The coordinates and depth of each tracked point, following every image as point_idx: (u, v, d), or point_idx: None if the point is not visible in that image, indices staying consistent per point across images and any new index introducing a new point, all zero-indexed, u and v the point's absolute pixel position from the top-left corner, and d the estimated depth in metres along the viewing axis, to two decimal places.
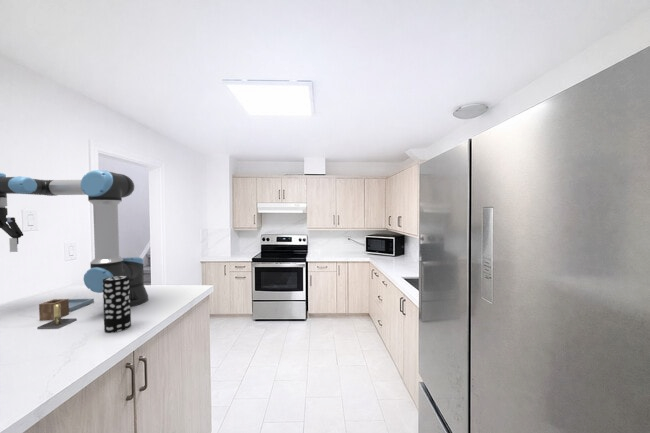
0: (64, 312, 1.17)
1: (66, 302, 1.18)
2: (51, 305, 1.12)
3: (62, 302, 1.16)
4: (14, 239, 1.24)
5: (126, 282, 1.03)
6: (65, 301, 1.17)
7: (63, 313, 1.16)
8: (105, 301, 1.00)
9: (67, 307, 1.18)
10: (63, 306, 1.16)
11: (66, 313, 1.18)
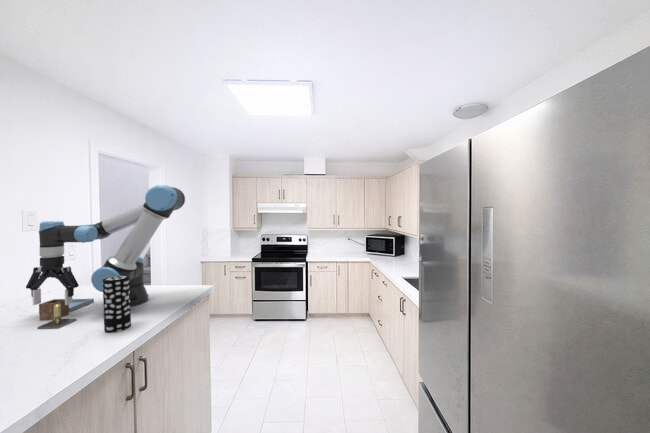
0: (64, 312, 1.17)
1: None
2: (51, 305, 1.12)
3: (62, 302, 1.16)
4: None
5: (126, 282, 1.03)
6: None
7: (63, 313, 1.16)
8: (105, 301, 1.00)
9: (67, 307, 1.18)
10: (63, 306, 1.16)
11: (66, 313, 1.18)
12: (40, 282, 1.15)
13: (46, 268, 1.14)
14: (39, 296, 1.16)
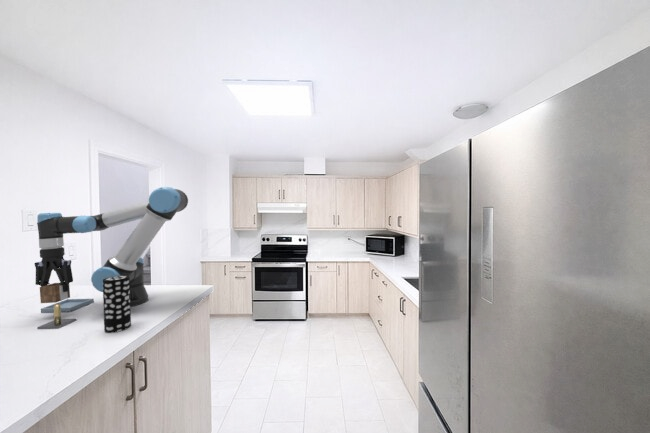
0: None
1: None
2: (52, 288, 1.12)
3: None
4: None
5: (126, 282, 1.03)
6: None
7: None
8: (105, 301, 1.00)
9: (68, 290, 1.18)
10: None
11: None
12: (47, 276, 1.15)
13: (46, 258, 1.14)
14: None
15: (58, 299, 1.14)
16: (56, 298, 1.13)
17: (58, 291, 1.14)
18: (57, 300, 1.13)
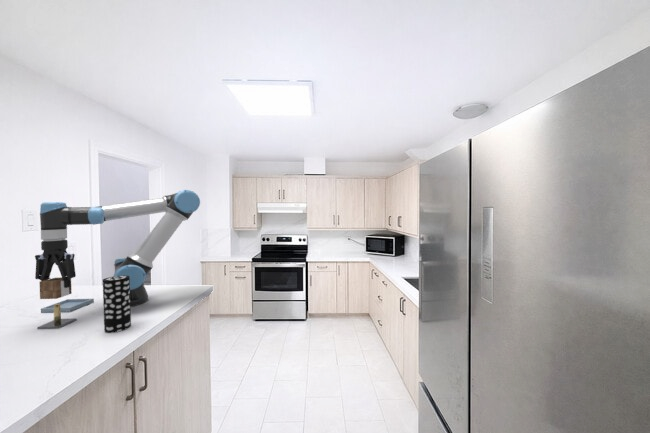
0: None
1: None
2: (53, 283, 1.04)
3: None
4: None
5: (126, 282, 1.03)
6: None
7: None
8: (105, 301, 1.00)
9: None
10: None
11: None
12: (48, 270, 1.07)
13: (47, 251, 1.06)
14: None
15: (59, 295, 1.06)
16: (57, 294, 1.05)
17: (59, 286, 1.06)
18: (58, 296, 1.05)
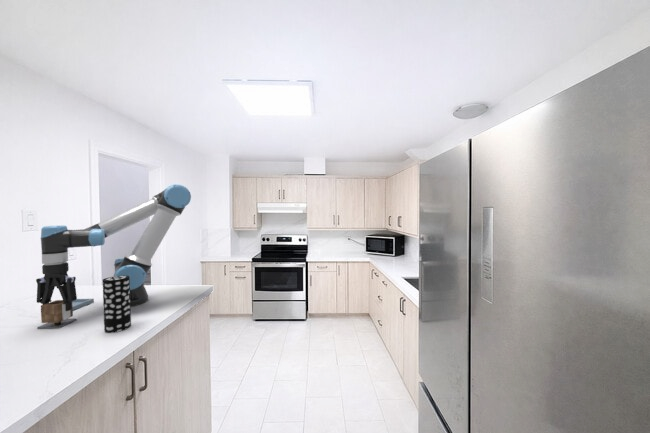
0: None
1: None
2: (54, 306, 1.05)
3: None
4: None
5: (126, 282, 1.03)
6: None
7: None
8: (105, 301, 1.00)
9: None
10: None
11: None
12: (49, 293, 1.07)
13: (48, 275, 1.06)
14: None
15: (60, 319, 1.06)
16: (58, 318, 1.05)
17: (60, 310, 1.06)
18: (59, 320, 1.05)
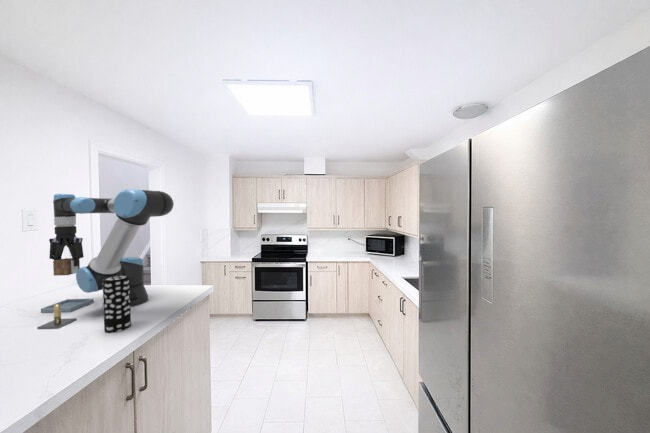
0: None
1: None
2: (64, 262, 1.24)
3: None
4: None
5: (126, 282, 1.03)
6: None
7: None
8: (105, 301, 1.00)
9: None
10: None
11: None
12: (60, 251, 1.26)
13: (60, 235, 1.25)
14: None
15: (69, 272, 1.25)
16: (68, 271, 1.24)
17: (70, 265, 1.25)
18: (68, 273, 1.24)
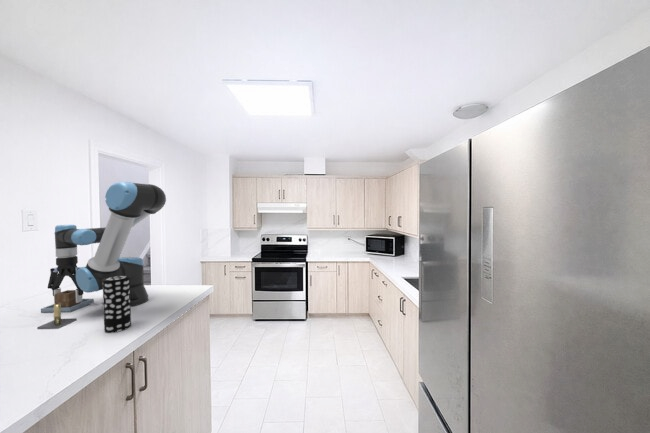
0: None
1: None
2: (65, 295, 1.24)
3: (75, 292, 1.28)
4: None
5: (126, 282, 1.03)
6: None
7: (75, 303, 1.28)
8: (105, 301, 1.00)
9: None
10: None
11: (78, 303, 1.29)
12: (59, 281, 1.27)
13: (61, 267, 1.26)
14: None
15: (71, 305, 1.25)
16: (69, 305, 1.25)
17: (71, 298, 1.26)
18: (70, 306, 1.25)
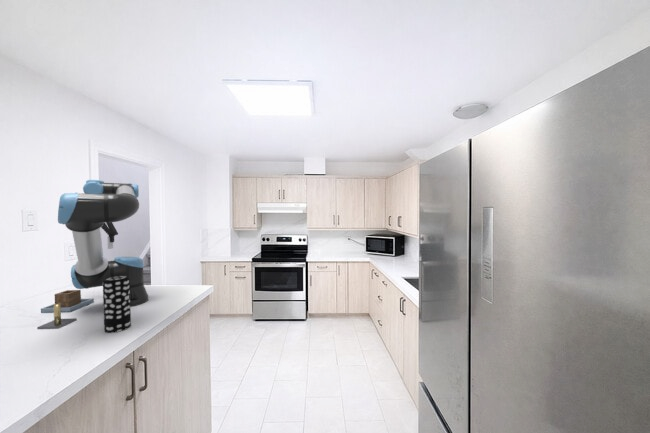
0: (77, 302, 1.29)
1: (78, 293, 1.30)
2: (65, 295, 1.24)
3: (75, 292, 1.28)
4: None
5: (126, 282, 1.03)
6: (78, 292, 1.29)
7: (75, 303, 1.28)
8: (105, 301, 1.00)
9: (79, 297, 1.30)
10: (76, 296, 1.28)
11: (78, 303, 1.29)
12: None
13: None
14: None
15: (71, 305, 1.25)
16: (69, 305, 1.25)
17: (71, 298, 1.26)
18: (70, 306, 1.25)
